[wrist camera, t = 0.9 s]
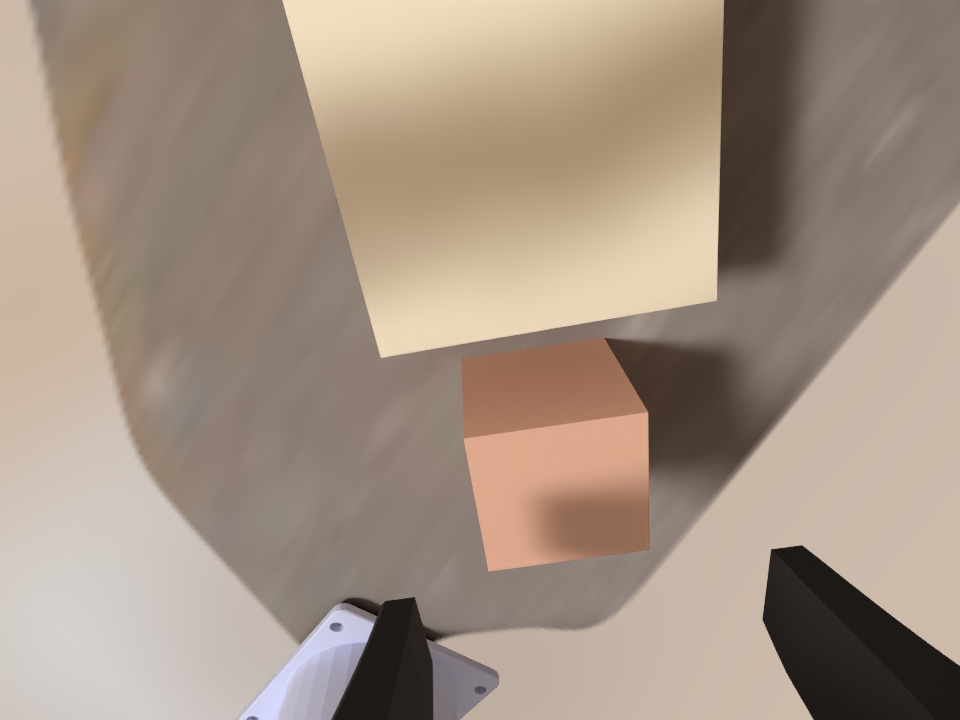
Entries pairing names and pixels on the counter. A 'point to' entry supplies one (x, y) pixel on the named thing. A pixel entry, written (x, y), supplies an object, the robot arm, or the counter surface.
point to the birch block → (518, 158)
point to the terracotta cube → (556, 454)
